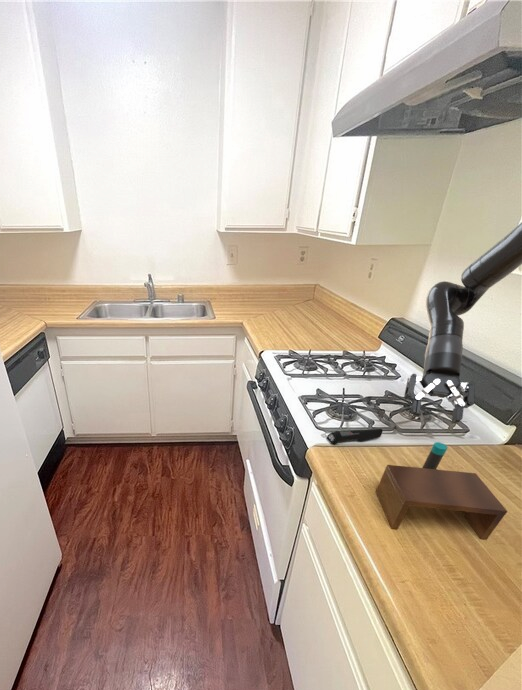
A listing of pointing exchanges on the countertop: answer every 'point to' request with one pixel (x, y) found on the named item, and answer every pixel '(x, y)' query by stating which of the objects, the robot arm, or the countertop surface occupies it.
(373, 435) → the electric trimmer
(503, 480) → the countertop surface
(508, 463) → the countertop surface
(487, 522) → the shelf
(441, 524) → the countertop surface
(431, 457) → the marker
